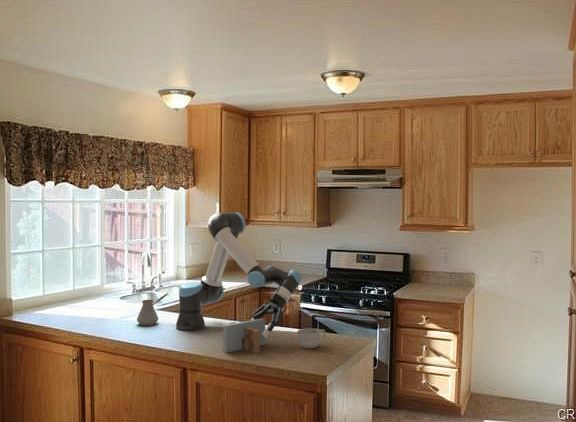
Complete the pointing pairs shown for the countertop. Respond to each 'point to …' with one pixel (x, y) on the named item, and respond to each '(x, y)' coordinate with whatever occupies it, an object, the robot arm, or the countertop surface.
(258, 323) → the slate plate
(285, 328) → the countertop surface
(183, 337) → the countertop surface
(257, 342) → the walnut board
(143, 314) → the coffee pot
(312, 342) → the teacup
